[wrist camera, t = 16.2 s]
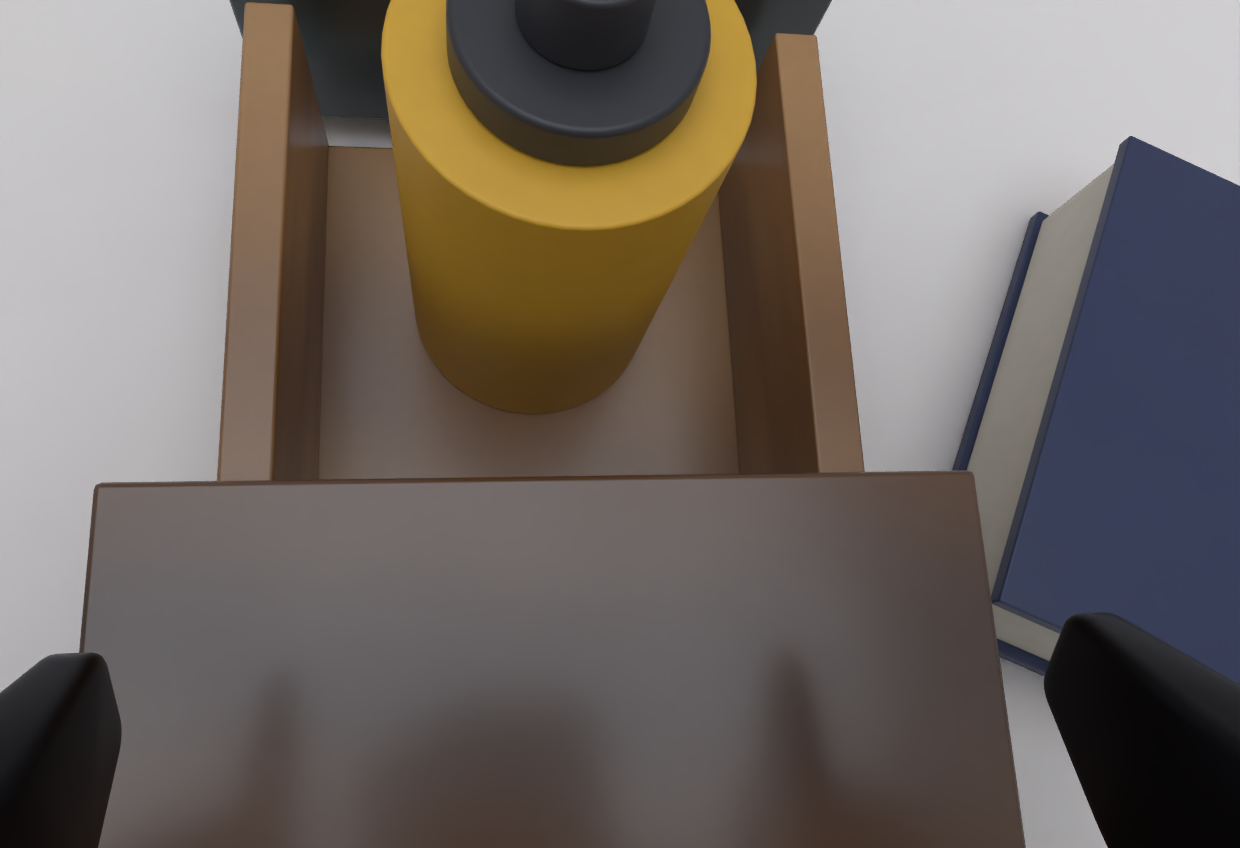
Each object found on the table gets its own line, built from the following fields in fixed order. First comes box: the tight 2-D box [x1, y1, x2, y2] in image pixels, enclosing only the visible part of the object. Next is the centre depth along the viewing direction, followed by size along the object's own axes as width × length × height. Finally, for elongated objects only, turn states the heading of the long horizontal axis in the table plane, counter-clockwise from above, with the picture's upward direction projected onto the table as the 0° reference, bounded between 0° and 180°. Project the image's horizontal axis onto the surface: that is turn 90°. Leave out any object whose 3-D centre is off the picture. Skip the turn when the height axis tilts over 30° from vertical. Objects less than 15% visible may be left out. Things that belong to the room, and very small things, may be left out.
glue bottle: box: [381, 0, 757, 414], centre depth 16 cm, size 5×5×10 cm
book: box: [953, 136, 1240, 685], centre depth 22 cm, size 11×8×4 cm
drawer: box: [217, 0, 865, 481], centre depth 19 cm, size 19×11×6 cm, turn 3°
